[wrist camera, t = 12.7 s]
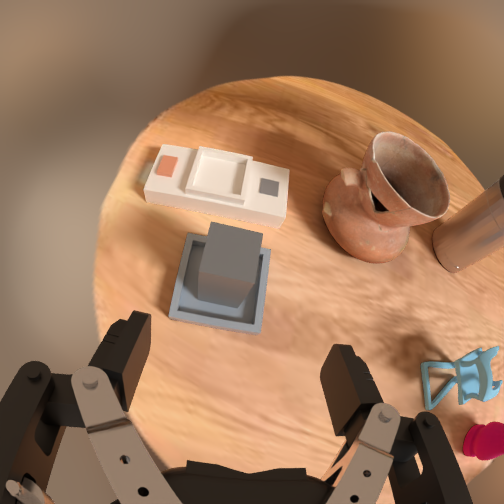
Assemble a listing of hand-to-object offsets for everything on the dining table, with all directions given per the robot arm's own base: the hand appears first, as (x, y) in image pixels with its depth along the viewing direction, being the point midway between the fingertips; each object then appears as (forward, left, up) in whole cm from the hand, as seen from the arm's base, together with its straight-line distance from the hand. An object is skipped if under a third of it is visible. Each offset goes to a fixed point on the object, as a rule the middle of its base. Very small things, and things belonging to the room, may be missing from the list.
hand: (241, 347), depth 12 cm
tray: (-7, -5, -20) cm, 22 cm away
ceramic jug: (-28, +5, -20) cm, 35 cm away
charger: (-7, -5, -20) cm, 21 cm away
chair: (-16, +30, -20) cm, 40 cm away
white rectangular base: (-17, -14, -20) cm, 30 cm away
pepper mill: (-11, +47, -20) cm, 53 cm away
